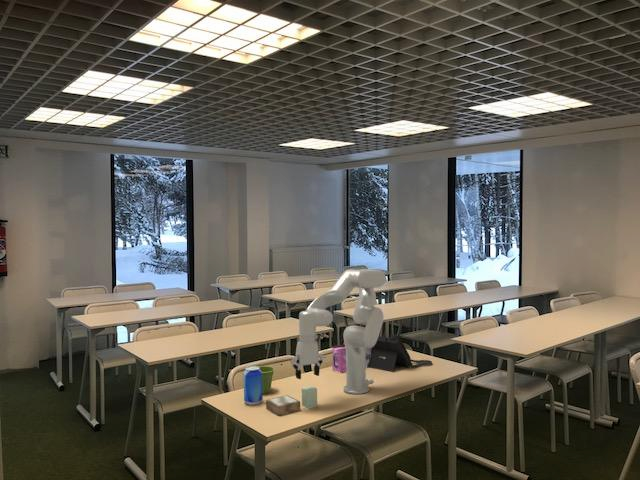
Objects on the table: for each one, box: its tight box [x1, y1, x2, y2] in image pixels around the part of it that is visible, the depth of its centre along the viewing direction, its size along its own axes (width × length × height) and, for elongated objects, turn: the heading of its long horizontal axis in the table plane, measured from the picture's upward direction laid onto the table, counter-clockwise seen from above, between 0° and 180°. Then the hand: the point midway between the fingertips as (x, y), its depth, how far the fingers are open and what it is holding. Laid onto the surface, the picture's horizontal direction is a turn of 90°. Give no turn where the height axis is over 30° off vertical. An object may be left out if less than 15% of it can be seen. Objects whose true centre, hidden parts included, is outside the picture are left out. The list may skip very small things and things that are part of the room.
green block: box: [301, 385, 318, 409], centre depth 230 cm, size 5×5×8 cm
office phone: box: [368, 333, 433, 373], centre depth 294 cm, size 29×28×20 cm
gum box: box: [331, 343, 371, 374], centre depth 290 cm, size 24×8×14 cm, turn 125°
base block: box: [265, 394, 301, 417], centre depth 226 cm, size 11×11×4 cm
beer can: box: [243, 365, 264, 406], centre depth 237 cm, size 8×8×16 cm
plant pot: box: [258, 365, 276, 395], centre depth 252 cm, size 12×12×11 cm
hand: (307, 376), depth 230 cm, fingers open, 9 cm apart
